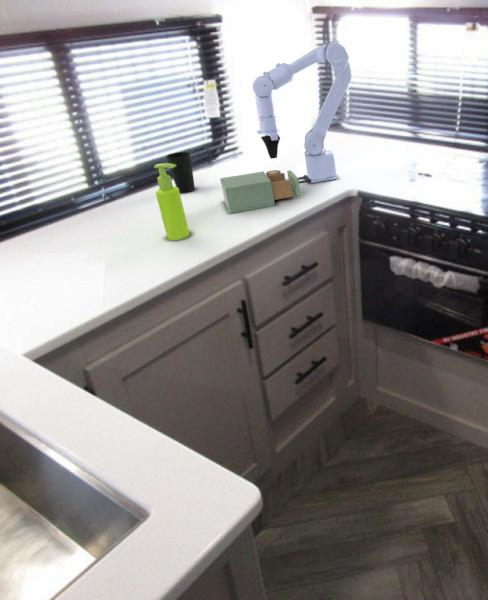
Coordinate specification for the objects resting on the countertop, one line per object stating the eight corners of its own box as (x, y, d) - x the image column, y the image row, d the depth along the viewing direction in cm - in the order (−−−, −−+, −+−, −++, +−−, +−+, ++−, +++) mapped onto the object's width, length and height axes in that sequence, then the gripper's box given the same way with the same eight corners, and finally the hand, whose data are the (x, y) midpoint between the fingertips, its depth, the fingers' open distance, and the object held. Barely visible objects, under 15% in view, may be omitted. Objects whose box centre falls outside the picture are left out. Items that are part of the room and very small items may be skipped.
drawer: (306, 185, 187) (304, 168, 184) (315, 194, 179) (312, 176, 176) (255, 194, 182) (251, 176, 179) (261, 204, 174) (258, 185, 171)
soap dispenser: (186, 240, 154) (168, 167, 144) (163, 239, 155) (144, 167, 145) (196, 232, 159) (180, 160, 149) (174, 231, 160) (156, 160, 150)
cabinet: (267, 194, 184) (263, 171, 180) (274, 205, 175) (271, 181, 171) (224, 201, 180) (219, 178, 176) (230, 213, 171) (225, 188, 167)
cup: (201, 186, 196) (193, 151, 190) (192, 193, 189) (184, 157, 183) (180, 187, 197) (171, 152, 191) (170, 194, 190) (161, 158, 184)
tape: (280, 177, 199) (278, 169, 198) (283, 181, 195) (282, 172, 194) (266, 180, 198) (264, 171, 196) (268, 184, 194) (267, 175, 192)
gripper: (250, 113, 189) (257, 154, 196) (259, 121, 177) (266, 164, 184) (271, 111, 191) (277, 151, 198) (281, 118, 179) (287, 161, 186)
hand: (273, 157), depth 191 cm, fingers closed
